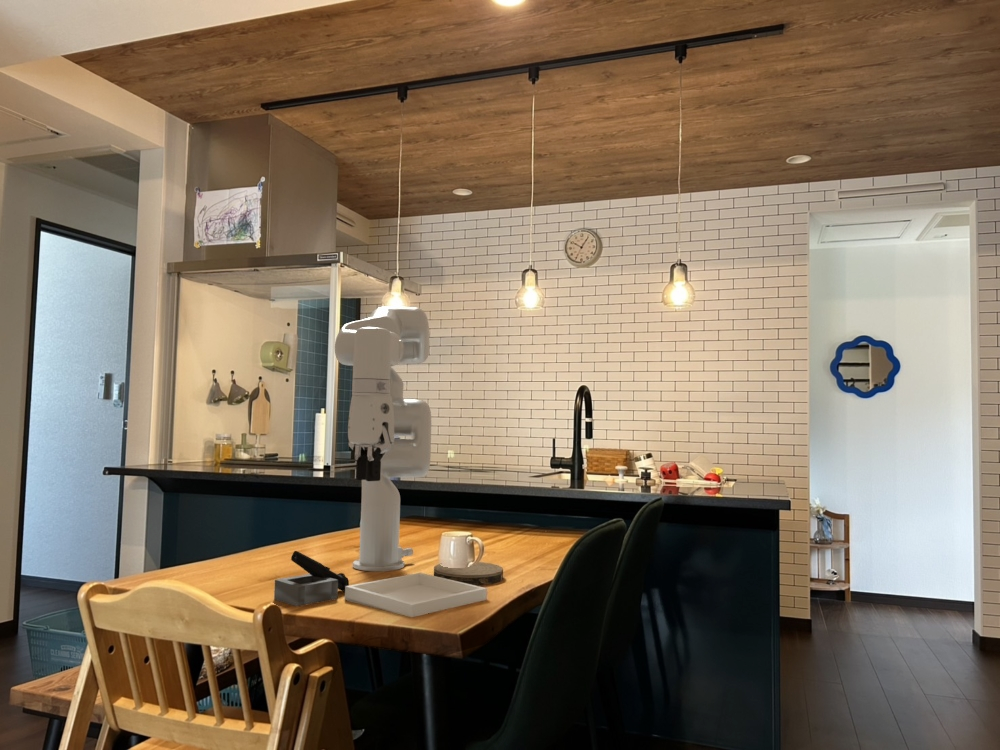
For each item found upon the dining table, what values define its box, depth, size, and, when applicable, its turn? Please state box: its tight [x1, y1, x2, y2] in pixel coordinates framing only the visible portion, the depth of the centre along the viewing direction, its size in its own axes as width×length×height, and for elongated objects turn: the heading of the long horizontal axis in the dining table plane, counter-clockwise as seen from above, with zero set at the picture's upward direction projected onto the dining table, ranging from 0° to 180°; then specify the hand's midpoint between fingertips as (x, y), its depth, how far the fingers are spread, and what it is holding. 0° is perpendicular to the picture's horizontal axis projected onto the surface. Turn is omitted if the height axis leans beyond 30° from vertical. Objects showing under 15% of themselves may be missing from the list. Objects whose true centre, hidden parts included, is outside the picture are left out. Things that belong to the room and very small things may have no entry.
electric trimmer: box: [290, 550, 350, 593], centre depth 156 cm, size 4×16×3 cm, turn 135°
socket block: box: [273, 573, 339, 607], centre depth 153 cm, size 9×8×4 cm
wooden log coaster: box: [433, 561, 504, 586], centre depth 175 cm, size 16×16×3 cm
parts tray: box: [344, 572, 488, 618], centre depth 153 cm, size 20×20×3 cm
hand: (368, 479), depth 154 cm, fingers closed
